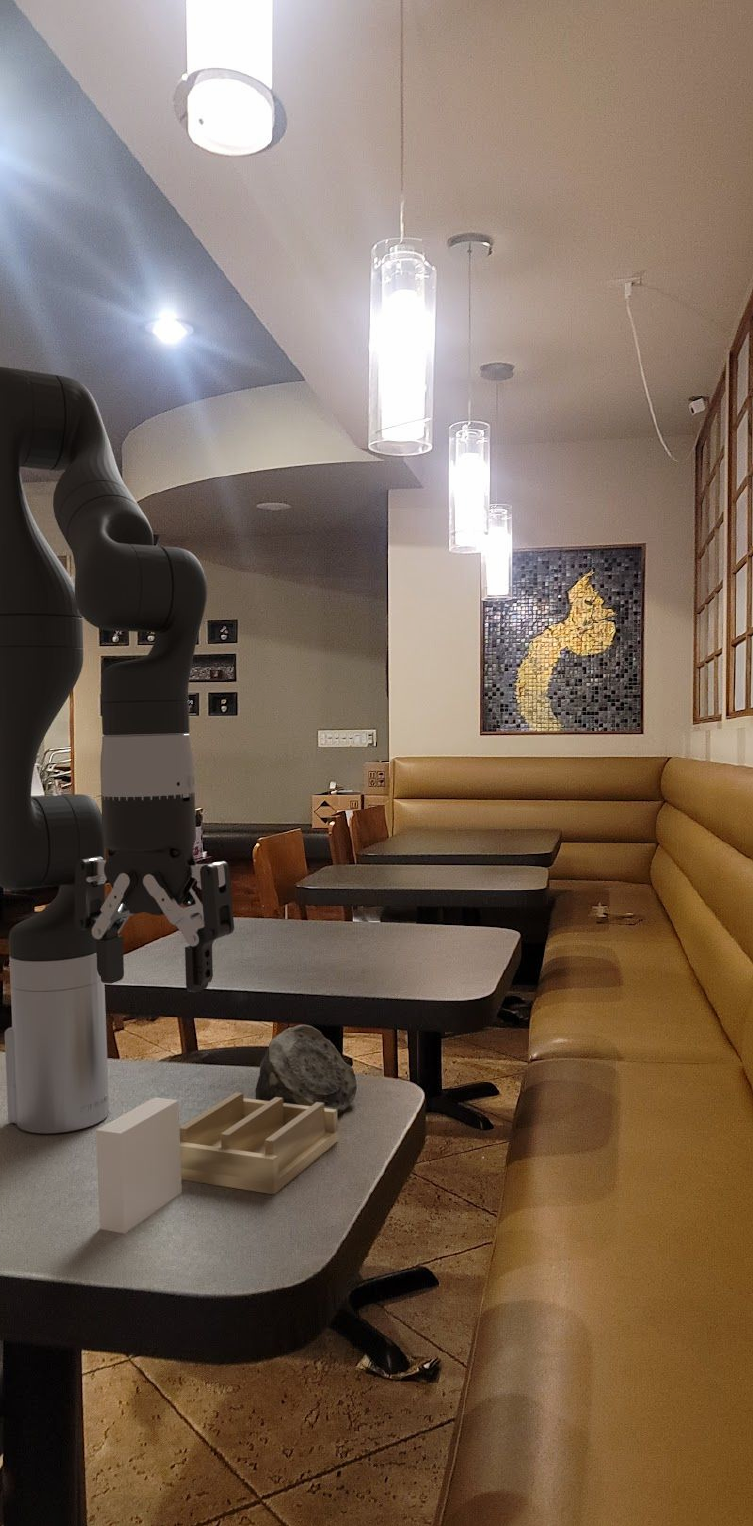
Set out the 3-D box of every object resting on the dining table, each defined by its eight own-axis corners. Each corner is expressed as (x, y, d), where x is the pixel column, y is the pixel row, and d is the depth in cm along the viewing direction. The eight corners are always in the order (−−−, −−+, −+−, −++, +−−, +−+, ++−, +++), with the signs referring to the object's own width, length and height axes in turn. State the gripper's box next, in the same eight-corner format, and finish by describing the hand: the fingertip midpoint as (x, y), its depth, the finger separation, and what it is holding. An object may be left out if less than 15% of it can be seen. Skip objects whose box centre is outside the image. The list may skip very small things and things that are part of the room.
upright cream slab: (99, 1228, 86) (96, 1129, 86) (158, 1188, 93) (154, 1097, 93) (124, 1233, 85) (121, 1133, 85) (181, 1192, 92) (178, 1100, 92)
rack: (165, 1176, 96) (163, 1131, 96) (238, 1126, 107) (236, 1087, 107) (274, 1194, 91) (272, 1147, 91) (338, 1140, 103) (336, 1099, 103)
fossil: (346, 1122, 106) (296, 1033, 106) (268, 1161, 108) (220, 1073, 108) (368, 1083, 117) (322, 1002, 117) (297, 1119, 119) (252, 1039, 119)
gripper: (48, 792, 88) (55, 989, 89) (194, 793, 82) (201, 1004, 83) (107, 786, 95) (114, 969, 96) (246, 787, 89) (252, 982, 90)
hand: (154, 985), depth 89 cm, fingers open, 8 cm apart
